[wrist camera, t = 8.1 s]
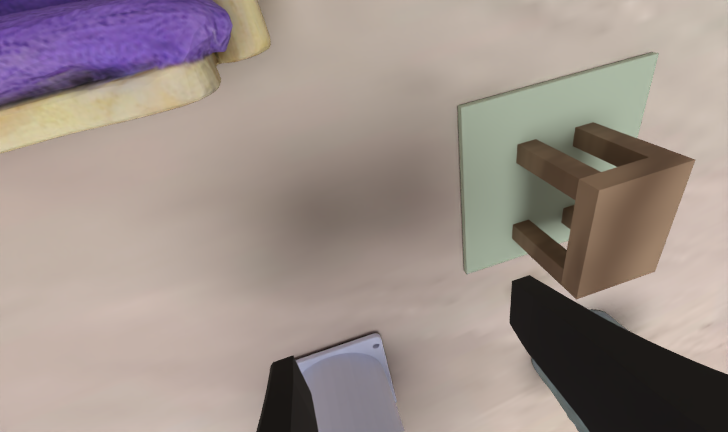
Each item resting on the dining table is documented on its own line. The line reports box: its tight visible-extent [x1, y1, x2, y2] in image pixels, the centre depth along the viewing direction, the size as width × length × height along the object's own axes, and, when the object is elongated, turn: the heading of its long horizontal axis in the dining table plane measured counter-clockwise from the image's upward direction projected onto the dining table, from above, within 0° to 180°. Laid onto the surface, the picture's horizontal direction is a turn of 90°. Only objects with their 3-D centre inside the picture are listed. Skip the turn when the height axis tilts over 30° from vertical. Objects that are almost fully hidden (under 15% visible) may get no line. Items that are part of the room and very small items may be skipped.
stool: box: [512, 122, 695, 299], centre depth 21 cm, size 5×7×6 cm
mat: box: [458, 52, 659, 274], centre depth 23 cm, size 12×12×1 cm
